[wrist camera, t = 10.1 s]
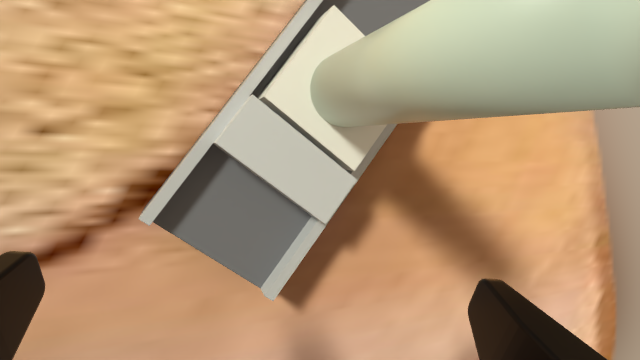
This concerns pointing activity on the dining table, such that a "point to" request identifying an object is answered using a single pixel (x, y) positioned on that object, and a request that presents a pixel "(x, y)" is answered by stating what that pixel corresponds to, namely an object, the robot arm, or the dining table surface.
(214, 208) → the track
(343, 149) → the slider with handle
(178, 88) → the dining table surface
